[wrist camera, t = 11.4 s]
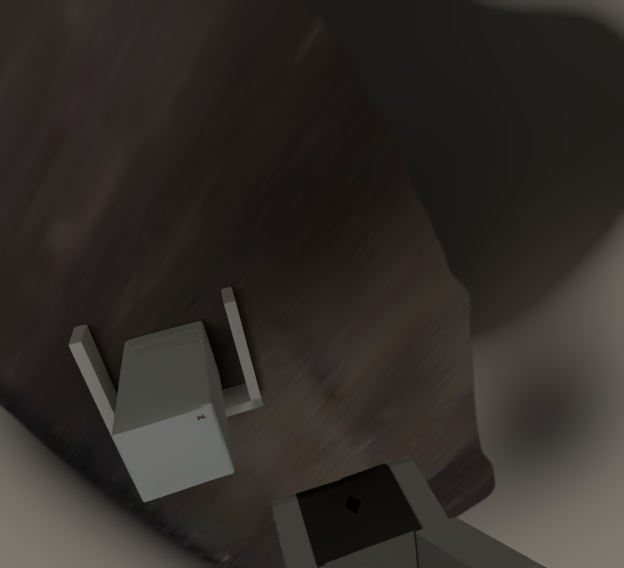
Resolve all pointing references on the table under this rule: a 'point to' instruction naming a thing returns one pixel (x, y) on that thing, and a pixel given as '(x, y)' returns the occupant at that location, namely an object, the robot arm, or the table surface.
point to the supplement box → (171, 412)
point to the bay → (106, 394)
